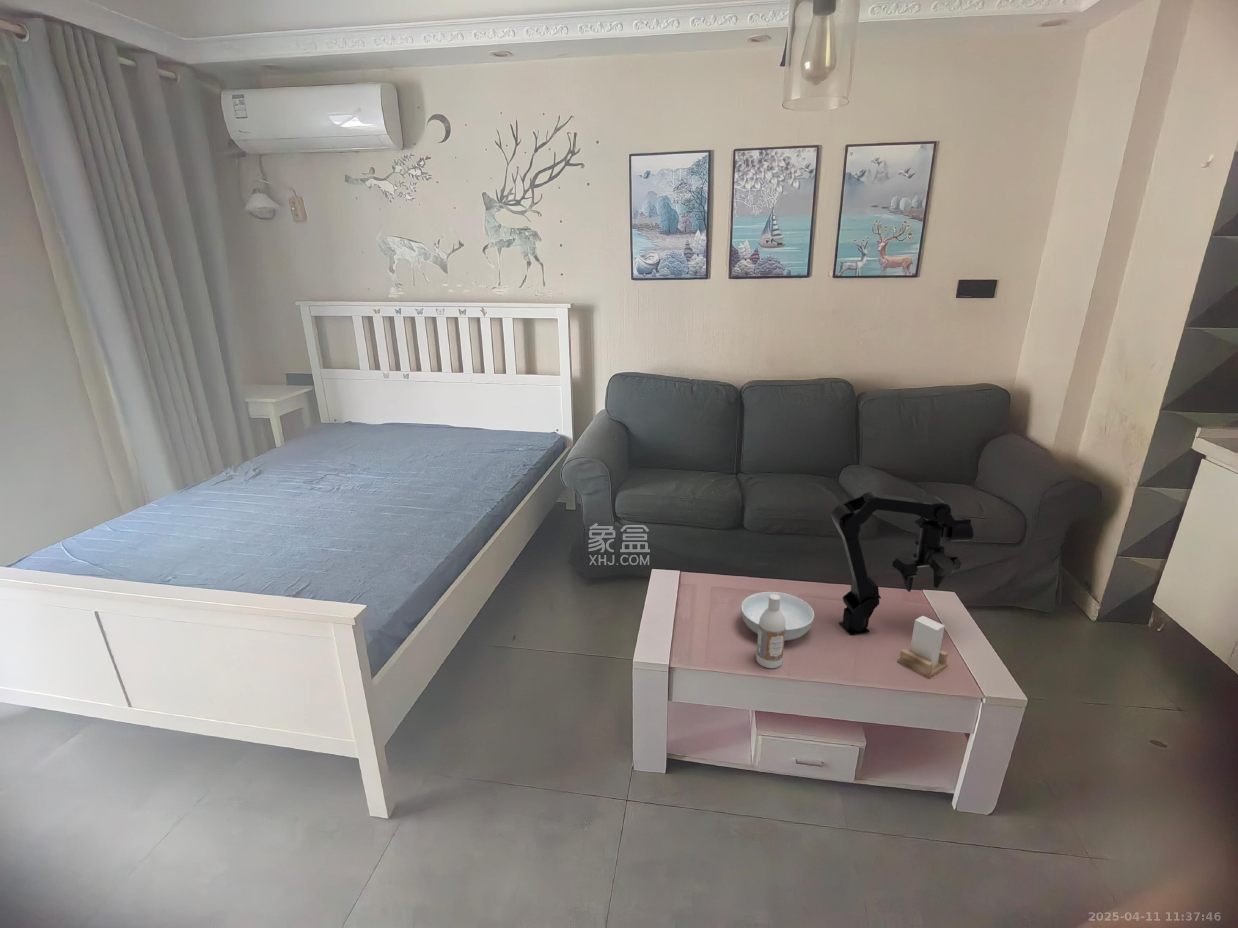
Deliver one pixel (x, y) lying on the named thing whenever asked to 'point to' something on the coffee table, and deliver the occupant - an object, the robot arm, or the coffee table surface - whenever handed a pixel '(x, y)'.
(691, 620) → the coffee table surface
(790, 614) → the serving bowl
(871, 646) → the coffee table surface
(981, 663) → the coffee table surface
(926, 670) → the slot holder
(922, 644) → the white rectangular box
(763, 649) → the bath foam
